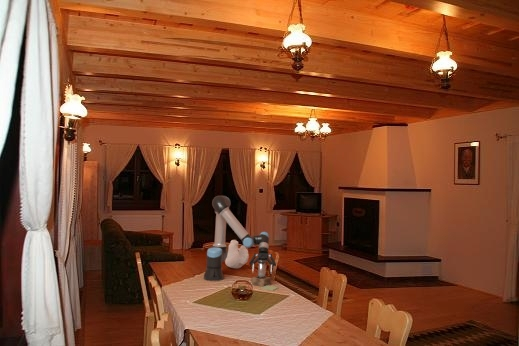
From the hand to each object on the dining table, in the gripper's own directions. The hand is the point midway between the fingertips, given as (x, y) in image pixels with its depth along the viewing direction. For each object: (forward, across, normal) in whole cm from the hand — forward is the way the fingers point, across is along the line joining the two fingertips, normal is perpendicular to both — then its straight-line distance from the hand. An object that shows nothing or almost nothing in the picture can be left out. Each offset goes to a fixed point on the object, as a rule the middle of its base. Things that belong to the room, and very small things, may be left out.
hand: (261, 272), depth 303 cm
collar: (+5, 0, -8) cm, 9 cm away
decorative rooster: (-36, +25, -49) cm, 66 cm away
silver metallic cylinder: (+5, 0, -8) cm, 9 cm away
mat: (+13, -6, 0) cm, 15 cm away
